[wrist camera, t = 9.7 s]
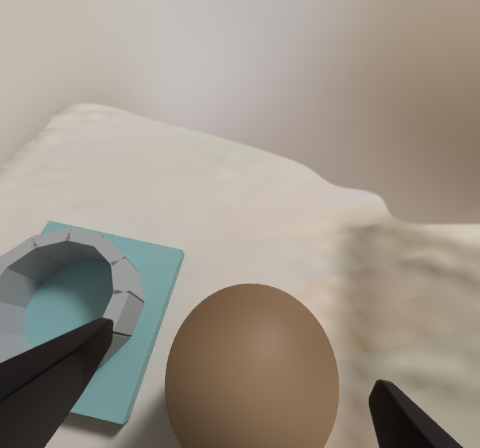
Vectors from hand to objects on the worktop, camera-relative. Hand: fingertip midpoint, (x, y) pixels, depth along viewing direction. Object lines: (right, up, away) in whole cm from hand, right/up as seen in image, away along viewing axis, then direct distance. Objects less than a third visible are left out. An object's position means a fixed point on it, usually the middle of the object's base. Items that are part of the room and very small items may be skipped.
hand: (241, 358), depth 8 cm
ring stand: (-10, -1, +8) cm, 13 cm away
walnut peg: (-1, -4, +7) cm, 8 cm away
